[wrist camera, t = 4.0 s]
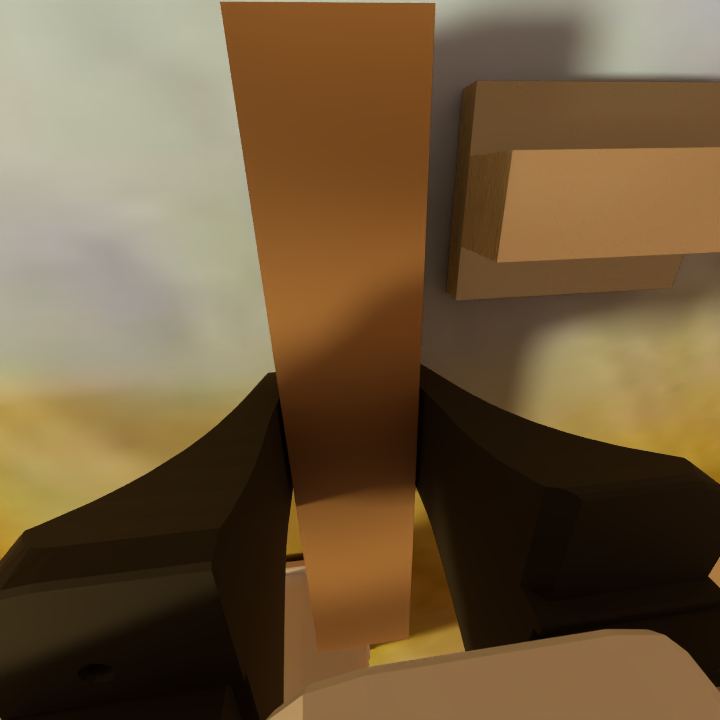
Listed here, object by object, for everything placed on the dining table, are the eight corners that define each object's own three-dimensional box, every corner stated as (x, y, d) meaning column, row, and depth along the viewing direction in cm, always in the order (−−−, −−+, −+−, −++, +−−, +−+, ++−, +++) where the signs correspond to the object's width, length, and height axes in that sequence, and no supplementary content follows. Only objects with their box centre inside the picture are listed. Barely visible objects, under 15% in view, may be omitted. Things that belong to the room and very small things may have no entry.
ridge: (648, 281, 14) (744, 309, 11) (445, 292, 13) (487, 326, 10) (711, 89, 12) (859, 56, 8) (462, 88, 11) (526, 52, 8)
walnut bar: (386, 535, 16) (408, 638, 12) (316, 544, 16) (318, 653, 12) (385, 73, 9) (435, 3, 5) (257, 74, 9) (220, 2, 5)
